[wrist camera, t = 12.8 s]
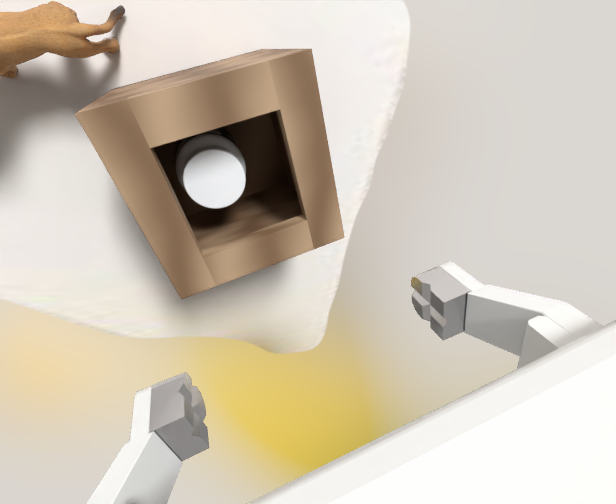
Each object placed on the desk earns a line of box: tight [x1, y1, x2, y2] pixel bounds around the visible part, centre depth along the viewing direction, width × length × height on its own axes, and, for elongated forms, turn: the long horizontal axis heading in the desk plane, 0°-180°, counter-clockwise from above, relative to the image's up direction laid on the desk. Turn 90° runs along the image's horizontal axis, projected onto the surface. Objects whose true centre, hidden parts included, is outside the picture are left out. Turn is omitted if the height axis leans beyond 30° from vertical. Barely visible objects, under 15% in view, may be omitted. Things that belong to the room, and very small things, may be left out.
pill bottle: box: [175, 127, 246, 209], centre depth 30 cm, size 6×6×10 cm
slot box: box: [75, 49, 344, 299], centre depth 29 cm, size 14×14×14 cm
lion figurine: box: [0, 1, 125, 78], centre depth 23 cm, size 15×5×9 cm, turn 110°
